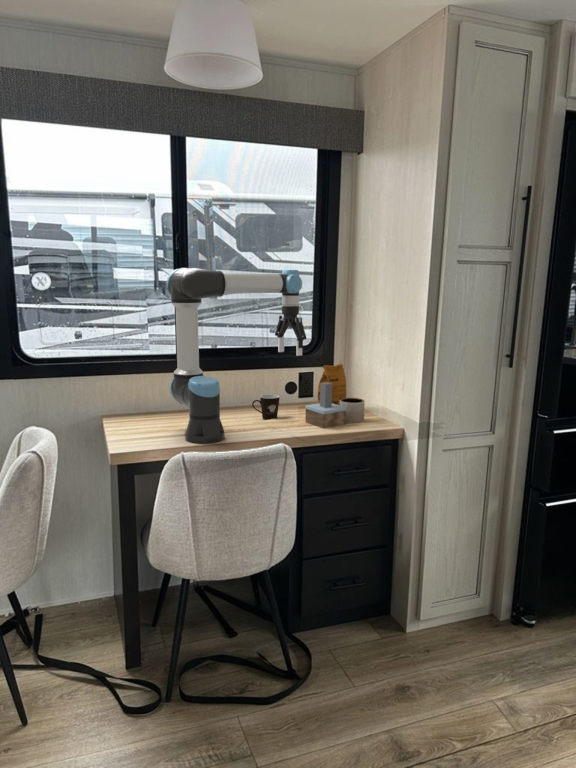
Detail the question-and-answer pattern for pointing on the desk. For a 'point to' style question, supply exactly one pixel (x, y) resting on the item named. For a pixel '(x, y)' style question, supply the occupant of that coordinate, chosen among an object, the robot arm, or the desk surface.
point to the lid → (325, 401)
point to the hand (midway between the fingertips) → (290, 353)
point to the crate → (325, 419)
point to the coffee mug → (268, 406)
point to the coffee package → (334, 382)
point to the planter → (353, 409)
